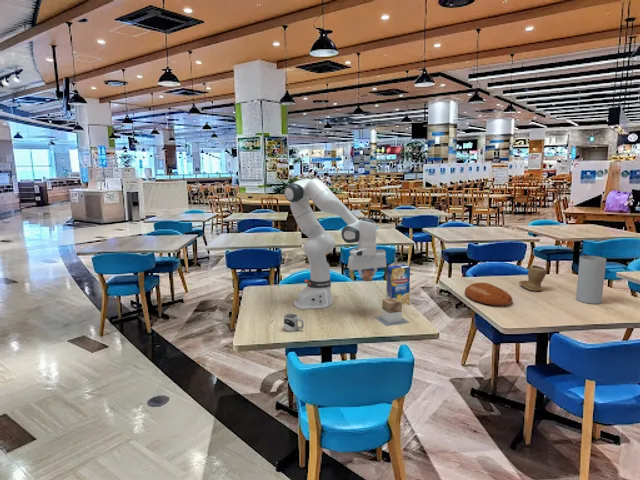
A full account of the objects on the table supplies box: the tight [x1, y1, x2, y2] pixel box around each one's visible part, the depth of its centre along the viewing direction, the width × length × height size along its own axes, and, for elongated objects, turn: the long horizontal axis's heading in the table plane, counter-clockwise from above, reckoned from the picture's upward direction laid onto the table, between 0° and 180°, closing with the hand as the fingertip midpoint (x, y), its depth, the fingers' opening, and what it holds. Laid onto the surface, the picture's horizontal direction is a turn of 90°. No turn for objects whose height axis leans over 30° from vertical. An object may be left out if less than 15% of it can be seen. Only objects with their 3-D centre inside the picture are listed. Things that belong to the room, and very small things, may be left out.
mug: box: [283, 313, 304, 333], centre depth 202 cm, size 10×7×7 cm
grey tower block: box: [381, 308, 403, 323], centre depth 209 cm, size 7×7×5 cm
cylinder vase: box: [575, 255, 607, 305], centre depth 237 cm, size 12×12×25 cm
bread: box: [464, 282, 513, 307], centre depth 245 cm, size 23×32×9 cm
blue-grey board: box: [374, 315, 411, 327], centre depth 209 cm, size 13×13×2 cm
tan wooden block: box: [381, 298, 403, 313], centre depth 208 cm, size 7×7×5 cm
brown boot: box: [518, 264, 547, 292], centre depth 263 cm, size 15×12×15 cm
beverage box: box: [385, 264, 411, 305], centre depth 235 cm, size 7×11×22 cm, turn 108°
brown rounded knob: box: [362, 269, 373, 282], centre depth 215 cm, size 5×5×5 cm
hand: (367, 277), depth 215 cm, fingers closed on brown rounded knob, 5 cm apart
